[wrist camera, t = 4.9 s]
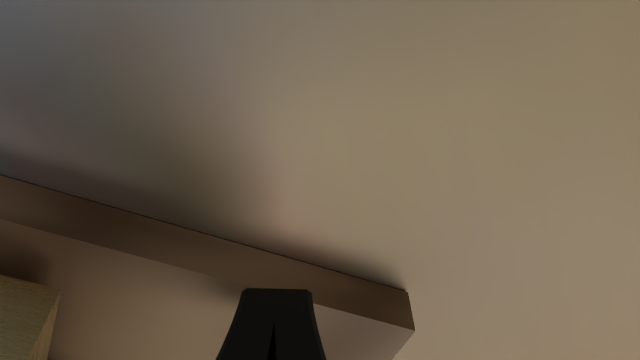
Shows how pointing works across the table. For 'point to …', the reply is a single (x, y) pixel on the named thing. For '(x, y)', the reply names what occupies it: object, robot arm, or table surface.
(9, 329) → the tan bumpy ring
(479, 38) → the table surface
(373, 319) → the board
